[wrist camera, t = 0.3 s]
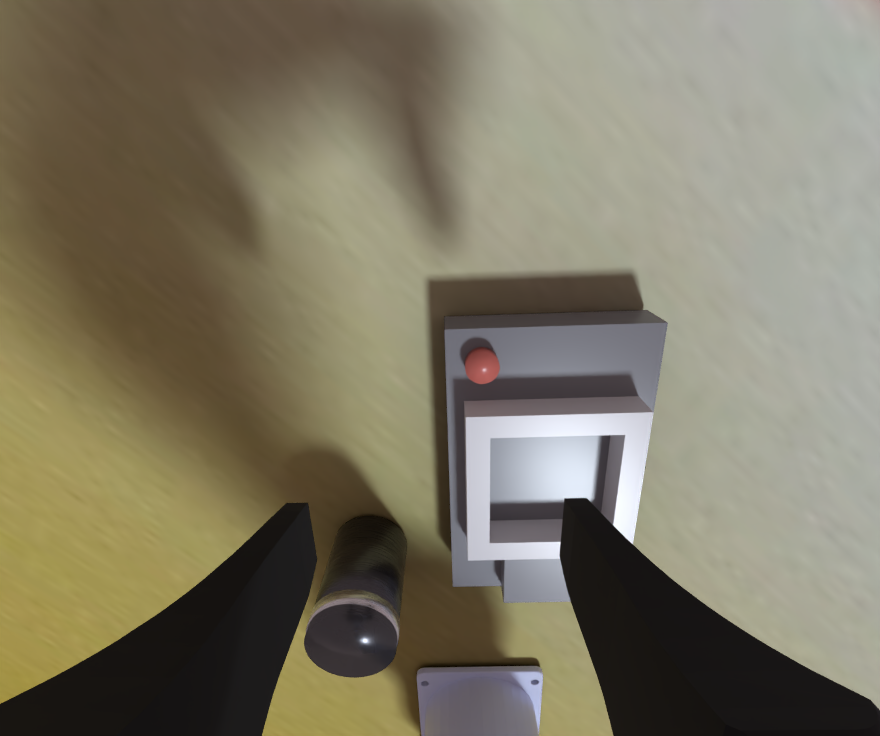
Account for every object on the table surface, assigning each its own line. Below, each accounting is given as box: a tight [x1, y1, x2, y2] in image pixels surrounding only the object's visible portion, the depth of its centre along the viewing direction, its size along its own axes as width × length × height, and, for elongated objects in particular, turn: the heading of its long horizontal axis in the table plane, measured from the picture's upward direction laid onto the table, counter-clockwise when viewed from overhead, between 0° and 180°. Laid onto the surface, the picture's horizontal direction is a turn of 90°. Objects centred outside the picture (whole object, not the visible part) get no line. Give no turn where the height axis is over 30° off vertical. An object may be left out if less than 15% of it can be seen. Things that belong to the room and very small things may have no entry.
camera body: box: [444, 310, 668, 603], centre depth 21 cm, size 14×9×4 cm, turn 2°
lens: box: [304, 516, 407, 677], centre depth 22 cm, size 4×4×6 cm
